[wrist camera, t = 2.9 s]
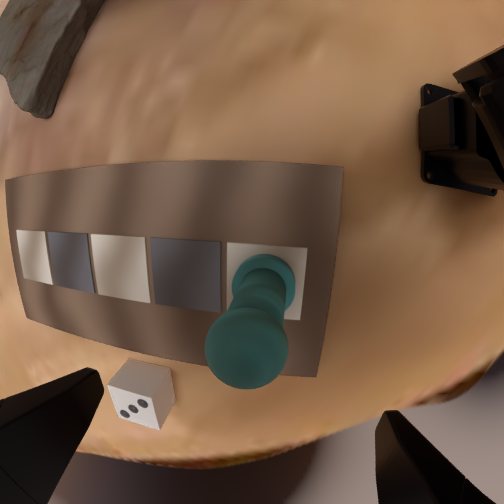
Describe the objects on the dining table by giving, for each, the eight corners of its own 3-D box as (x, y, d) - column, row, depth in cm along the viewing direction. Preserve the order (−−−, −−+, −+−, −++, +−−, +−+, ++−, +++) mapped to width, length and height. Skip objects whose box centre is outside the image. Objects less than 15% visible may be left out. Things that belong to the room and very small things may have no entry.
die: (170, 367, 22) (150, 398, 18) (175, 400, 23) (159, 431, 19) (129, 357, 23) (106, 385, 19) (137, 390, 24) (118, 417, 20)
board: (339, 167, 16) (343, 167, 15) (315, 367, 20) (316, 378, 19) (14, 178, 20) (4, 179, 18) (33, 313, 23) (25, 318, 22)
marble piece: (54, 120, 18) (18, 118, 14) (-9, 96, 18) (-35, 95, 14) (143, -41, 13) (121, -63, 9) (54, -28, 13) (33, -39, 9)
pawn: (297, 256, 16) (298, 335, 8) (292, 312, 17) (286, 414, 9) (235, 251, 17) (184, 323, 9) (234, 307, 18) (192, 401, 10)
